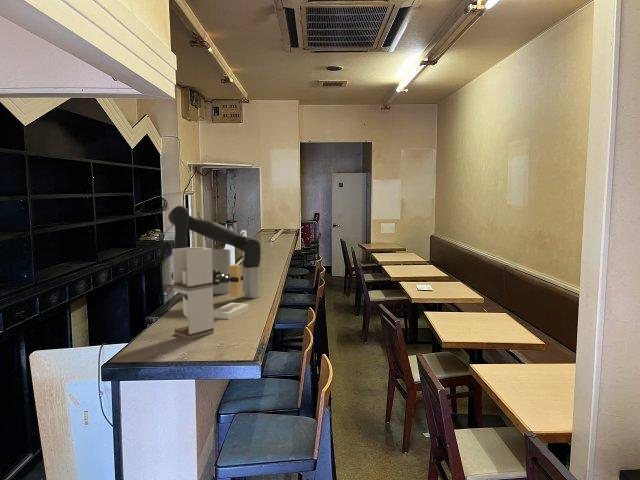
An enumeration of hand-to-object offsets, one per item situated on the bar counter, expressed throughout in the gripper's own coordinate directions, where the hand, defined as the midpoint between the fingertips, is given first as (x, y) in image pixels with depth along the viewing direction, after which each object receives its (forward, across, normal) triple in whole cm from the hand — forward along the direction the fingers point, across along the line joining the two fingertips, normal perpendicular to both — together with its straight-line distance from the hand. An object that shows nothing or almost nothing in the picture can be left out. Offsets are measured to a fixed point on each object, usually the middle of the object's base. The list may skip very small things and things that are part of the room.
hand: (240, 278), depth 221 cm
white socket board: (-3, -5, +16) cm, 17 cm away
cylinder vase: (-34, +38, +17) cm, 53 cm away
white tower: (-1, -38, +16) cm, 42 cm away
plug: (-3, 0, +8) cm, 9 cm away
